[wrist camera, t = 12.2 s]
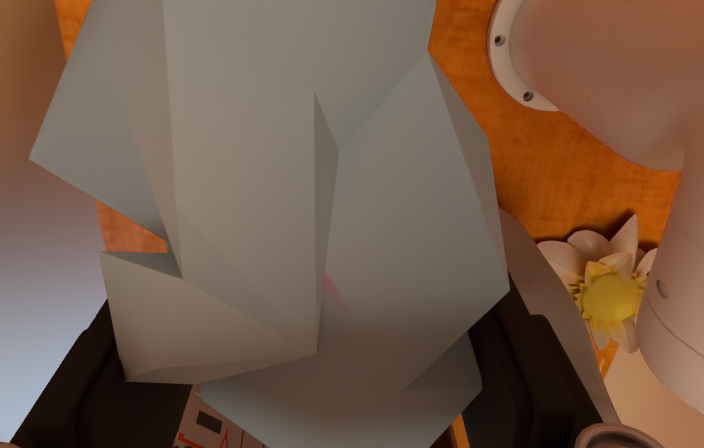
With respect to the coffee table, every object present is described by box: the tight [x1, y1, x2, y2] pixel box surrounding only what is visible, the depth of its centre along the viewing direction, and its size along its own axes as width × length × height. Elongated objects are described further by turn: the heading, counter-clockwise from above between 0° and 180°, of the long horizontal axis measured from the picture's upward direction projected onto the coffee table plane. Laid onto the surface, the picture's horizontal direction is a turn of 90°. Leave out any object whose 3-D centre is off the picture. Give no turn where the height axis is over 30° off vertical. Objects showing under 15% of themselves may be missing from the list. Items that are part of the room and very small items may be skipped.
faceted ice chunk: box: [29, 0, 510, 448], centre depth 8 cm, size 13×7×5 cm, turn 13°
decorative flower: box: [537, 214, 658, 353], centre depth 53 cm, size 15×11×10 cm
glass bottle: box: [498, 207, 622, 424], centre depth 38 cm, size 10×10×28 cm
